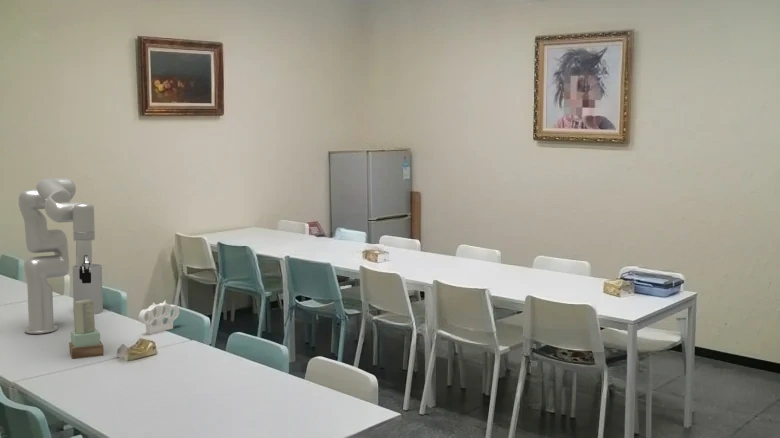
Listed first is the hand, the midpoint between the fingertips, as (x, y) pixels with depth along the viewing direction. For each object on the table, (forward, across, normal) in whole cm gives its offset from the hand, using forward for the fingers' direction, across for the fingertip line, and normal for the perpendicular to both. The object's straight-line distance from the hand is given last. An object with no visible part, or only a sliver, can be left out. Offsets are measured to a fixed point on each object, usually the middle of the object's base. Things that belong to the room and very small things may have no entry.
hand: (85, 281), depth 287 cm
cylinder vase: (+29, -66, +7) cm, 72 cm away
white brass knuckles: (+28, -20, +31) cm, 46 cm away
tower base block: (+29, 0, 0) cm, 29 cm away
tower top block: (+24, 0, 0) cm, 24 cm away
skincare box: (+20, 0, -1) cm, 20 cm away
